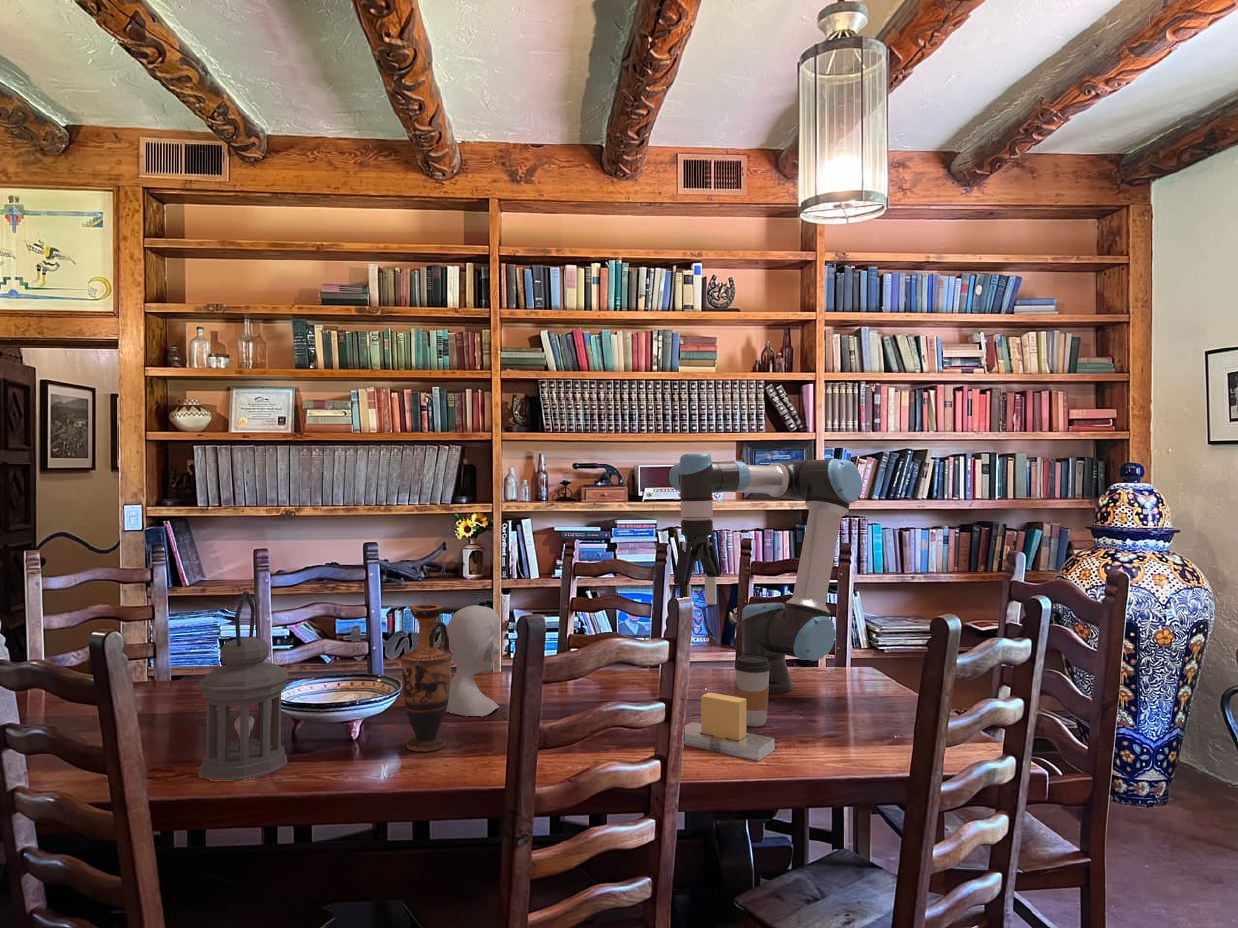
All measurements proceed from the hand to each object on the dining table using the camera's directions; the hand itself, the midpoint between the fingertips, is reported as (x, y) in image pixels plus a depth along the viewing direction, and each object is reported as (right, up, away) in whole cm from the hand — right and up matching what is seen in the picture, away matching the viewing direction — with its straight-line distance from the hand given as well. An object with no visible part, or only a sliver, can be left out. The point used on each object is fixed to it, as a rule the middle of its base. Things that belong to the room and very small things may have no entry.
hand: (698, 608), depth 189 cm
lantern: (-94, -27, -29) cm, 102 cm away
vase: (-60, -27, -17) cm, 68 cm away
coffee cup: (+13, -27, 0) cm, 30 cm away
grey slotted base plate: (+4, -27, -17) cm, 32 cm away
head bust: (-56, -27, +16) cm, 65 cm away
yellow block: (+4, -26, -17) cm, 31 cm away
